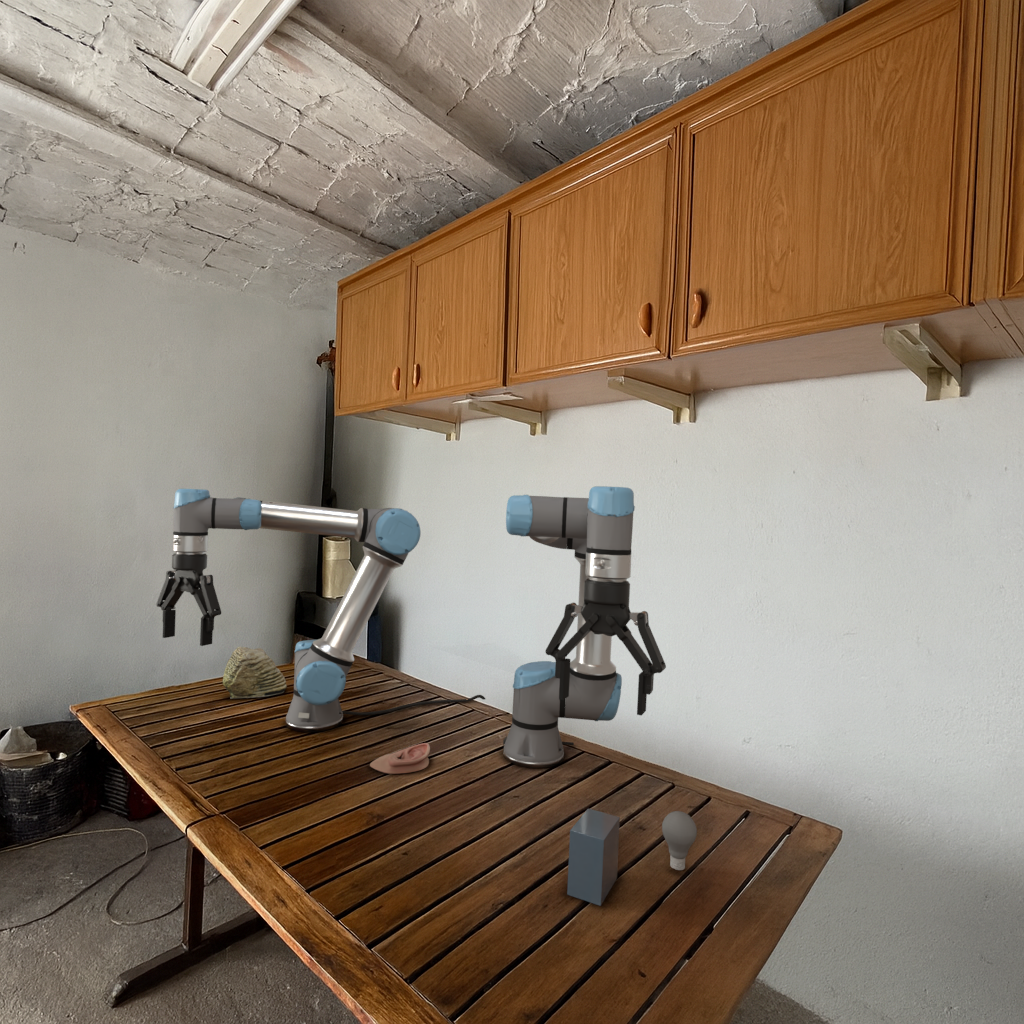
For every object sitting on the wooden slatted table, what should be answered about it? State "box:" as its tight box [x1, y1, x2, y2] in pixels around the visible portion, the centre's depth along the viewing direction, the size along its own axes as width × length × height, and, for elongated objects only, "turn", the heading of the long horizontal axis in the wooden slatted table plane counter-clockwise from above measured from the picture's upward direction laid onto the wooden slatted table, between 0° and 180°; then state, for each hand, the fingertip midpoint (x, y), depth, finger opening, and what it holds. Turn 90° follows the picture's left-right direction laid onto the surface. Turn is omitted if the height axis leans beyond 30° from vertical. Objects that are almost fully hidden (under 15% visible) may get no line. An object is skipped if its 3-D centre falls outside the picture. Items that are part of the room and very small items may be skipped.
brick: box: [566, 808, 621, 907], centre depth 107 cm, size 9×6×11 cm, turn 153°
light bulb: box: [661, 810, 698, 871], centre depth 113 cm, size 6×6×10 cm
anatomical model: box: [369, 742, 431, 775], centre depth 151 cm, size 13×4×12 cm
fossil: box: [222, 646, 288, 699], centre depth 198 cm, size 9×18×15 cm, turn 132°
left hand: (187, 640), depth 153 cm, fingers open, 13 cm apart
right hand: (601, 705), depth 106 cm, fingers open, 13 cm apart
